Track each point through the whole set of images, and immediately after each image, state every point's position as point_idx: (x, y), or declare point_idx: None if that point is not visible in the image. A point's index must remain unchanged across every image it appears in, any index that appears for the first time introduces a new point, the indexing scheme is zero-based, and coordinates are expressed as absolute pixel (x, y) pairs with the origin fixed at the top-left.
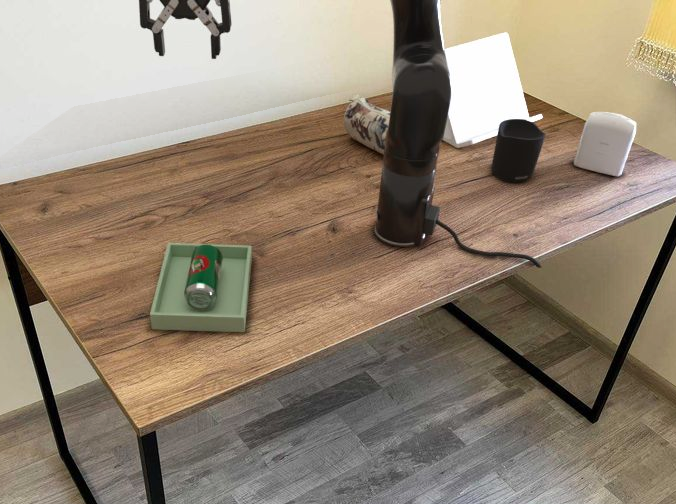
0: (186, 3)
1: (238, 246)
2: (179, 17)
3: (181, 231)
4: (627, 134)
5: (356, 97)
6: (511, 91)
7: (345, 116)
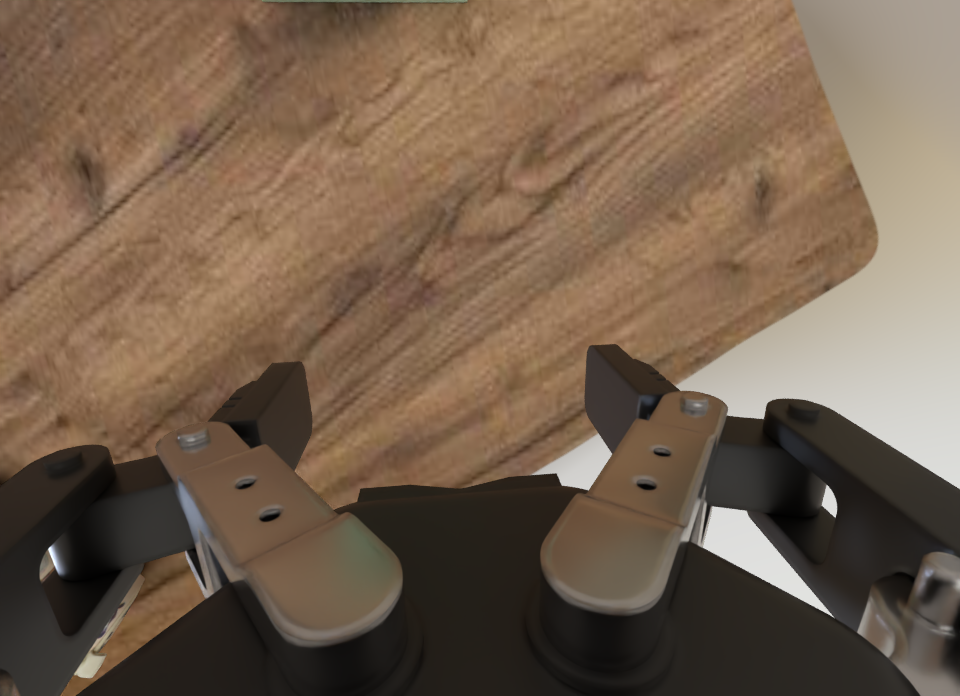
0: (434, 609)
1: None
2: (516, 488)
3: (457, 127)
4: None
5: (83, 666)
6: None
7: (123, 604)
